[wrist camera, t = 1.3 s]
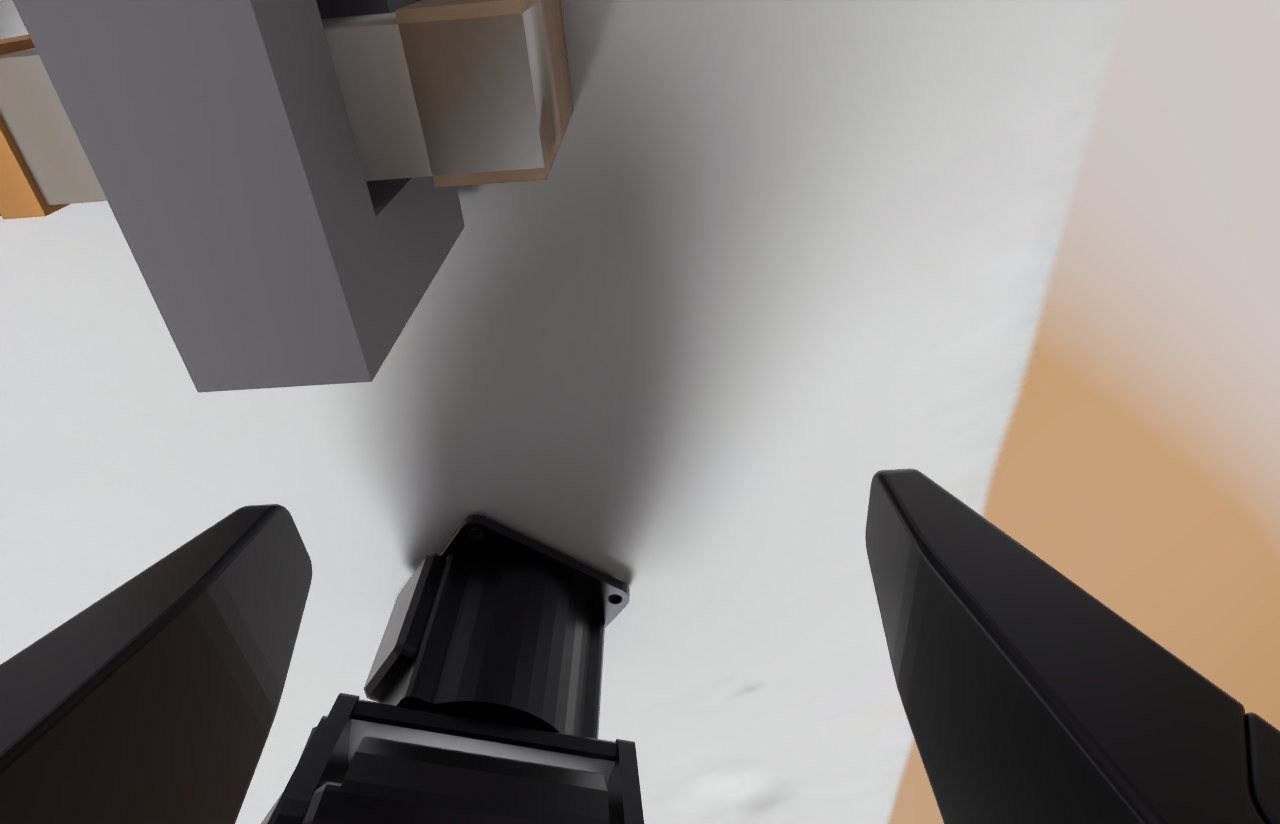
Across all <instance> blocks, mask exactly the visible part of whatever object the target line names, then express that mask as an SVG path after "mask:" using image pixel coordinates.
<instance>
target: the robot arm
mask: <svg viewBox="0 0 1280 824" xmlns="http://www.w3.org/2000/svg"><path fill="white" fill-rule="evenodd" d="M473 528H476V529H479V530H480V531H479V532H477V531H474V530H472V529H473ZM866 548H867V554H868V559H869V564H870V568H871V573H872V577H873V582H874V586H875V591H876V595H877V600H878V604H879V609H880V613H881V618H882V623H883V627H884V632H885V636H886V641H887V645H888V650H889V654H890V659H891V663H892V667H893V672H894V676H895V680H896V684H897V688H898V691H899V694H900V697H901V700H902V704H903V707H904V710H905V713H906V716H907V719H908V721H909V724H910V727H911V730H912V733H913V736H914V739H915V742H916V744H917V747H918V750H919V753H920V756H921V758H922V762H923V764H924V767H925V770H926V773H927V776H928V779H929V782H930V785H931V787H932V790H933V793H934V796H935V798H936V801H937V805H938V807H939V810H940V813H941V816H942V819H943V822H944V824H1280V731H1279V730H1277V729H1276V728H1275V727H1273V726H1272V725H1271V724H1269V723H1268V722H1267V721H1265V720H1264V719H1262V718H1261V717H1260V716H1258V715H1257V714H1255V713H1246V714H1245V709H1244V707H1243V705H1242V704H1241V703H1240V702H1238V701H1237V700H1235V699H1234V698H1233V697H1231V696H1230V695H1229V694H1227V693H1226V692H1224V691H1223V690H1222V689H1220V688H1219V687H1217V686H1216V685H1215V684H1213V683H1212V682H1211V681H1209V680H1208V679H1206V678H1205V677H1204V676H1202V675H1201V674H1199V673H1198V672H1197V671H1195V670H1194V669H1193V668H1191V667H1190V666H1188V665H1187V664H1186V663H1184V662H1183V661H1182V660H1180V659H1179V658H1177V657H1176V656H1175V655H1173V654H1172V653H1170V652H1169V651H1168V650H1166V649H1165V648H1164V647H1162V646H1161V645H1159V644H1158V643H1157V642H1155V641H1154V640H1152V639H1151V638H1150V637H1148V636H1147V635H1145V634H1144V633H1143V632H1141V631H1140V630H1138V629H1137V628H1136V627H1134V626H1133V625H1132V624H1130V623H1129V622H1127V621H1126V620H1125V619H1123V618H1122V617H1121V616H1119V615H1118V614H1116V613H1115V612H1114V611H1112V610H1111V609H1110V608H1108V607H1107V606H1105V605H1104V604H1103V603H1101V602H1100V601H1098V600H1097V599H1095V598H1094V597H1093V596H1092V595H1090V594H1089V593H1087V592H1086V591H1084V590H1083V589H1082V588H1080V587H1079V586H1078V585H1076V584H1075V583H1074V582H1072V581H1071V580H1069V579H1068V578H1067V577H1065V576H1064V575H1062V574H1061V573H1060V572H1058V571H1057V570H1056V569H1054V568H1053V567H1051V566H1050V565H1049V564H1047V563H1046V562H1044V561H1043V560H1042V559H1040V558H1039V557H1037V556H1036V555H1035V554H1033V553H1032V552H1031V551H1029V550H1028V549H1026V548H1025V547H1024V546H1022V545H1021V544H1020V543H1018V542H1017V541H1015V540H1014V539H1012V538H1011V537H1010V536H1008V535H1007V534H1005V533H1004V532H1003V531H1002V530H1000V529H999V528H997V527H996V526H995V525H993V524H992V523H990V522H989V521H988V520H986V519H985V518H984V517H982V516H981V515H979V514H978V513H977V512H975V511H974V510H972V509H971V508H970V507H968V506H967V505H966V504H964V503H963V502H961V501H960V500H959V499H957V498H956V497H954V496H953V495H952V494H950V493H949V492H948V491H946V490H945V489H943V488H942V487H941V486H939V485H938V484H937V483H935V482H934V481H932V480H931V479H930V478H928V477H927V476H925V475H924V474H923V473H921V472H919V471H918V470H915V469H897V470H881V471H878V472H877V473H876V474H875V475H874V476H873V479H872V482H871V489H870V498H869V506H868V515H867V523H866ZM311 580H312V565H311V560H310V557H309V555H308V552H307V550H306V548H305V546H304V543H303V541H302V539H301V537H300V534H299V532H298V530H297V528H296V525H295V523H294V521H293V518H292V516H291V514H290V513H289V511H288V510H287V509H286V508H285V507H283V506H281V505H278V504H270V505H252V506H245V507H242V508H239V509H238V510H236V511H235V512H233V513H231V514H230V515H228V516H227V517H225V518H224V519H222V520H221V521H219V522H218V523H216V524H215V525H213V526H212V527H210V528H209V529H207V530H206V531H204V532H202V533H201V534H199V535H198V536H196V537H195V538H193V539H192V540H190V541H189V542H187V543H186V544H184V545H183V546H181V547H180V548H178V549H177V550H175V551H173V552H172V553H170V554H169V555H167V556H166V557H164V558H163V559H161V560H160V561H158V562H157V563H155V564H154V565H152V566H151V567H149V568H148V569H146V570H144V571H143V572H141V573H140V574H138V575H137V576H135V577H134V578H132V579H131V580H129V581H128V582H126V583H125V584H123V585H122V586H120V587H119V588H117V589H116V590H114V591H112V592H111V593H109V594H108V595H106V596H105V597H103V598H102V599H100V600H99V601H97V602H96V603H94V604H93V605H91V606H90V607H88V608H87V609H85V610H83V611H82V612H80V613H79V614H77V615H76V616H74V617H73V618H71V619H70V620H68V621H67V622H65V623H64V624H62V625H61V626H59V627H58V628H56V629H54V630H53V631H51V632H50V633H48V634H47V635H45V636H44V637H42V638H41V639H39V640H38V641H36V642H35V643H33V644H32V645H30V646H29V647H27V648H25V649H24V650H22V651H21V652H19V653H18V654H16V655H15V656H13V657H12V658H10V659H9V660H7V661H6V662H4V663H3V664H1V665H0V824H235V822H236V819H237V817H238V814H239V811H240V809H241V806H242V804H243V801H244V798H245V796H246V793H247V790H248V788H249V785H250V782H251V780H252V777H253V775H254V772H255V769H256V767H257V764H258V761H259V759H260V756H261V753H262V751H263V748H264V746H265V743H266V740H267V738H268V735H269V732H270V729H271V726H272V724H273V721H274V718H275V715H276V712H277V709H278V705H279V702H280V699H281V695H282V692H283V688H284V684H285V681H286V677H287V673H288V669H289V665H290V661H291V658H292V654H293V650H294V646H295V642H296V638H297V635H298V631H299V627H300V623H301V619H302V615H303V612H304V608H305V604H306V600H307V596H308V592H309V589H310V585H311ZM612 594H617V596H614V595H612ZM628 602H629V588H628V586H627V585H626V584H625V583H623V582H621V581H619V580H617V579H615V578H613V577H611V576H608V575H606V574H604V573H602V572H600V571H598V570H596V569H594V568H592V567H590V566H587V565H585V564H583V563H581V562H579V561H577V560H575V559H573V558H571V557H568V556H566V555H564V554H562V553H560V552H558V551H556V550H554V549H552V548H549V547H547V546H545V545H543V544H541V543H539V542H537V541H535V540H533V539H531V538H528V537H526V536H524V535H522V534H520V533H518V532H516V531H514V530H512V529H509V528H507V527H505V526H503V525H501V524H499V523H497V522H495V521H493V520H490V519H488V518H486V517H484V516H481V515H471V516H468V517H466V518H465V519H464V520H463V522H462V523H461V524H460V526H459V527H458V529H457V530H456V532H455V533H454V534H453V536H452V537H451V539H450V540H449V541H448V543H447V544H446V546H445V547H444V548H443V550H442V551H441V553H440V554H439V555H438V554H436V553H432V554H430V555H427V556H426V557H425V558H424V560H423V561H422V562H421V564H420V565H419V567H418V568H417V570H416V571H415V572H414V574H413V575H412V577H411V578H410V580H409V581H408V582H407V584H406V585H405V587H404V588H403V590H402V591H401V592H400V594H399V595H398V597H397V600H396V603H395V605H394V608H393V611H392V614H391V616H390V619H389V622H388V624H387V627H386V630H385V632H384V635H383V638H382V641H381V643H380V646H379V649H378V651H377V654H376V657H375V660H374V662H373V665H372V668H371V670H370V673H369V676H368V679H367V681H366V684H365V687H364V691H365V693H366V696H367V698H369V699H371V700H374V701H377V702H378V703H377V702H371V701H365V700H359V696H355V695H349V694H343V693H340V694H339V695H338V697H337V699H336V701H335V703H334V705H333V707H332V709H331V711H330V713H329V715H328V717H325V716H323V717H322V718H321V720H320V722H319V724H318V726H317V727H315V728H313V729H312V731H311V734H310V736H309V739H308V741H307V744H306V746H305V748H304V751H303V753H302V756H301V758H300V760H299V763H298V765H297V767H296V769H295V771H294V772H293V774H292V776H291V778H290V780H289V782H288V784H287V786H286V788H285V790H284V792H283V793H282V794H281V796H280V797H279V799H278V800H277V802H276V803H275V804H274V806H273V807H272V809H271V810H270V812H269V813H268V814H267V816H266V817H265V819H264V820H263V821H262V823H261V824H644V819H643V810H642V801H641V792H640V784H639V775H638V766H637V757H636V748H635V742H632V741H626V740H620V739H617V740H616V742H612V741H606V740H600V739H598V730H599V713H600V697H601V680H602V664H603V647H604V631H605V627H606V626H607V625H608V624H609V623H610V622H611V621H612V620H613V619H614V618H615V617H616V616H617V615H618V614H619V613H620V612H621V611H622V610H623V608H624V607H625V606H626V605H627V604H628Z"/></svg>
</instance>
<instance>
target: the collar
mask: <svg viewBox="0 0 1280 824" xmlns="http://www.w3.org/2000/svg"><path fill="white" fill-rule="evenodd" d="M13 2H14V4H15V6H16V8H17V10H18V12H19V14H20V16H21V19H22V21H23V23H24V25H25V27H26V29H27V31H28V33H29V35H30V38H31V40H32V42H33V44H34V46H35V48H36V50H37V52H38V55H39V57H40V59H41V61H42V63H43V65H44V67H45V69H46V71H47V74H48V76H49V78H50V80H51V82H52V84H53V86H54V88H55V91H56V93H57V95H58V97H59V99H60V101H61V103H62V105H63V108H64V110H65V112H66V114H67V116H68V118H69V120H70V122H71V124H72V127H73V129H74V131H75V133H76V135H77V137H78V139H79V141H80V144H81V146H82V148H83V150H84V152H85V154H86V156H87V158H88V160H89V163H90V165H91V167H92V169H93V171H94V173H95V175H96V177H97V180H98V182H99V184H100V186H101V188H102V190H103V192H104V194H105V196H106V199H107V201H108V203H109V205H110V207H111V209H112V211H113V213H114V216H115V218H116V220H117V222H118V224H119V226H120V228H121V230H122V232H123V235H124V237H125V239H126V241H127V243H128V245H129V247H130V249H131V252H132V254H133V256H134V258H135V260H136V262H137V264H138V266H139V268H140V271H141V273H142V275H143V277H144V279H145V281H146V283H147V285H148V288H149V290H150V292H151V294H152V296H153V298H154V300H155V302H156V304H157V307H158V309H159V311H160V313H161V315H162V317H163V319H164V321H165V324H166V326H167V328H168V330H169V332H170V334H171V336H172V338H173V340H174V343H175V345H176V347H177V349H178V351H179V353H180V355H181V357H182V360H183V362H184V364H185V366H186V368H187V370H188V372H189V374H190V376H191V379H192V381H193V383H194V385H195V387H196V389H197V391H198V392H211V391H228V390H244V389H260V388H276V387H292V386H308V385H324V384H340V383H356V382H372V380H373V378H374V377H375V375H376V373H377V372H378V370H379V368H380V367H381V365H382V363H383V362H384V360H385V358H386V357H387V355H388V353H389V352H390V350H391V348H392V347H393V345H394V343H395V342H396V340H397V338H398V337H399V335H400V333H401V332H402V330H403V328H404V327H405V325H406V323H407V322H408V320H409V318H410V317H411V315H412V313H413V312H414V310H415V308H416V307H417V305H418V303H419V301H420V300H421V298H422V296H423V295H424V293H425V291H426V290H427V288H428V286H429V285H430V283H431V281H432V280H433V278H434V276H435V275H436V273H437V271H438V270H439V268H440V266H441V265H442V263H443V261H444V260H445V258H446V256H447V255H448V253H449V251H450V250H451V248H452V246H453V245H454V243H455V241H456V240H457V238H458V236H459V235H460V233H461V231H462V230H463V228H464V221H463V216H462V211H461V207H460V202H459V197H458V192H457V188H456V186H448V187H435V186H434V181H433V177H432V176H428V177H415V178H401V179H388V180H375V181H366V180H365V176H364V172H363V169H362V165H361V161H360V158H359V154H358V151H357V147H356V143H355V140H354V136H353V133H352V129H351V125H350V122H349V118H348V114H347V111H346V107H345V104H344V100H343V96H342V93H341V89H340V85H339V82H338V78H337V75H336V71H335V67H334V64H333V60H332V57H331V53H330V49H329V46H328V42H327V38H326V35H325V31H324V28H323V24H322V20H321V19H327V18H338V17H350V16H361V15H373V14H384V13H395V10H396V9H399V8H402V7H405V6H408V5H410V4H413V3H416V2H417V0H13Z"/></svg>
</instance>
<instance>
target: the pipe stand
mask: <svg viewBox="0 0 1280 824" xmlns="http://www.w3.org/2000/svg"><path fill="white" fill-rule="evenodd" d="M321 20H322V24H323V28H324V31H325V35H326V38H327V42H328V46H329V49H330V53H331V57H332V60H333V64H334V67H335V71H336V75H337V78H338V82H339V85H340V89H341V93H342V96H343V100H344V104H345V107H346V111H347V114H348V118H349V122H350V125H351V129H352V133H353V136H354V140H355V143H356V147H357V151H358V154H359V158H360V161H361V165H362V169H363V172H364V176H365V180H366V181H375V180H388V179H401V178H415V177H428V176H432V177H433V181H434V186H435V187H448V186H461V185H475V184H488V183H501V182H515V181H528V180H541V179H547V176H548V173H549V171H550V168H551V166H552V163H553V161H554V158H555V155H556V153H557V150H558V148H559V145H560V143H561V140H562V138H563V135H564V132H565V130H566V127H567V125H568V122H569V120H570V117H571V115H572V112H573V105H572V97H571V88H570V80H569V72H568V63H567V55H566V46H565V38H564V29H563V21H562V13H561V4H560V0H422V1H419V2H416V3H413V4H410V5H408V6H405V7H402V8H399V9H396V10H395V13H384V14H373V15H361V16H350V17H338V18H327V19H321ZM97 201H107V199H106V196H105V194H104V192H103V190H102V188H101V186H100V184H99V182H98V180H97V177H96V175H95V173H94V171H93V169H92V167H91V165H90V163H89V160H88V158H87V156H86V154H85V152H84V150H83V148H82V146H81V144H80V141H79V139H78V137H77V135H76V133H75V131H74V129H73V127H72V124H71V122H70V120H69V118H68V116H67V114H66V112H65V110H64V108H63V105H62V103H61V101H60V99H59V97H58V95H57V93H56V91H55V88H54V86H53V84H52V82H51V80H50V78H49V76H48V74H47V71H46V69H45V67H44V65H43V63H42V61H41V59H40V57H39V55H38V52H37V50H36V48H35V46H34V44H33V42H32V40H31V38H30V35H24V36H19V37H13V38H8V39H3V40H0V216H2V218H3V219H14V218H27V217H40V216H47V215H49V214H51V213H53V212H55V211H57V210H59V209H61V208H63V207H65V206H67V205H69V204H71V203H84V202H97Z"/></svg>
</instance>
